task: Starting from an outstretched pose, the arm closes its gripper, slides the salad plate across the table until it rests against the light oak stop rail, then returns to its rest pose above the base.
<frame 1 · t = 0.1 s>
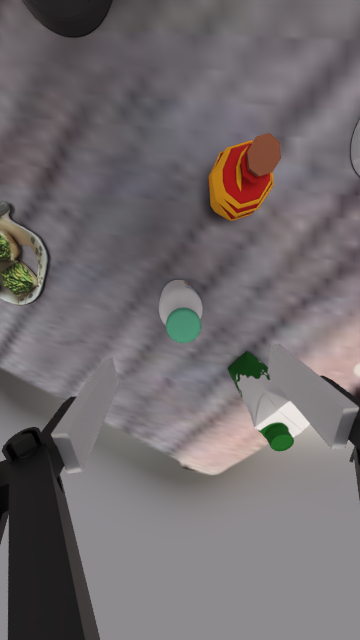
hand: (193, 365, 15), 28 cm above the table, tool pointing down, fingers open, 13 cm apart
salad plate: (7, 262, 38), on the table
milk bottle: (178, 295, 41), on the table
potion bottle: (226, 198, 35), on the table
milk carton: (245, 366, 49), on the table
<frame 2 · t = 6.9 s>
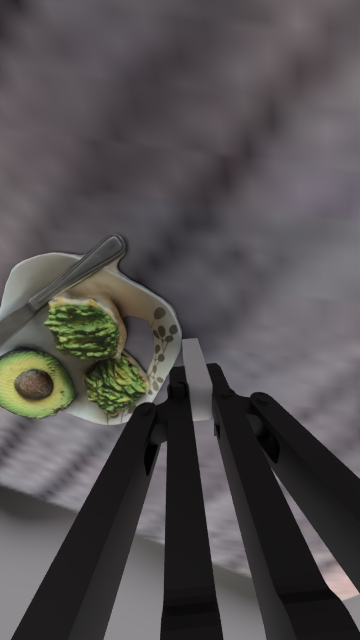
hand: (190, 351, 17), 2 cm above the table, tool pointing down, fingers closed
salad plate: (90, 346, 19), on the table, touching gripper
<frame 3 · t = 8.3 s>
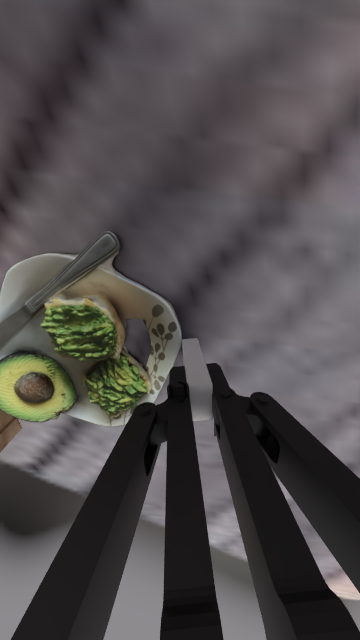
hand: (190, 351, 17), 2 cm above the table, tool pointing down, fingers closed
salad plate: (89, 347, 19), on the table
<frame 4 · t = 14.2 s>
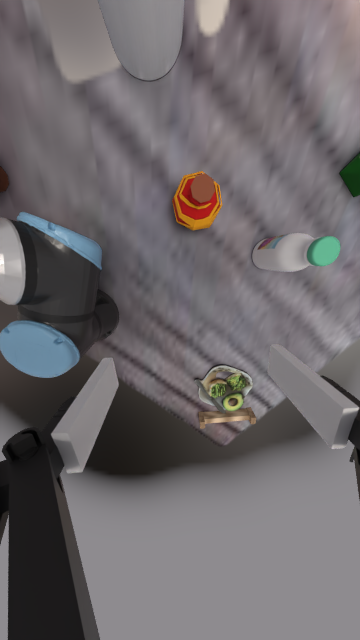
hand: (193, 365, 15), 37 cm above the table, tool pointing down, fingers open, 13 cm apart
salad plate: (224, 386, 62), on the table
milk bottle: (265, 254, 48), on the table
utensil holder: (144, 33, 33), on the table
stop rail: (224, 412, 65), on the table
potion bottle: (193, 212, 43), on the table
milk carton: (358, 173, 42), on the table
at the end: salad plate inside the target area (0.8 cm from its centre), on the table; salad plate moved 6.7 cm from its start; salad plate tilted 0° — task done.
